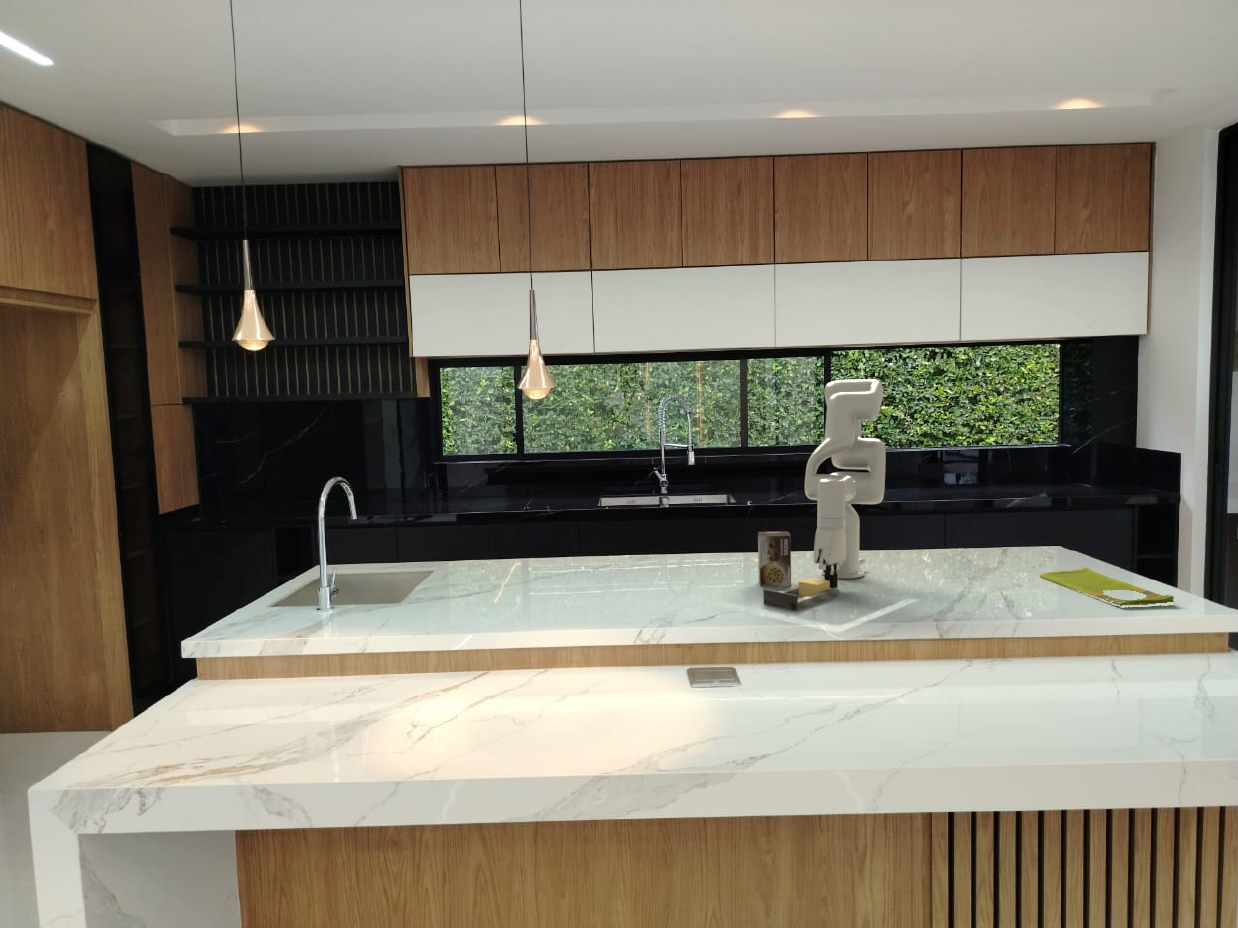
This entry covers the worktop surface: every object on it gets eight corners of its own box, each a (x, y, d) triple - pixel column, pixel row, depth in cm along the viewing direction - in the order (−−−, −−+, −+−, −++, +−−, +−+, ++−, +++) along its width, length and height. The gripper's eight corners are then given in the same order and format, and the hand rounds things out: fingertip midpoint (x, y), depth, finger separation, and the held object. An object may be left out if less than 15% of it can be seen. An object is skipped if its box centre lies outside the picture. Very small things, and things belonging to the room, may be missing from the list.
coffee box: (789, 585, 253) (789, 531, 251) (791, 590, 246) (791, 535, 245) (757, 585, 254) (757, 531, 252) (759, 590, 247) (759, 535, 245)
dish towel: (1121, 611, 221) (1121, 599, 220) (1038, 578, 256) (1038, 568, 256) (1176, 608, 222) (1177, 596, 222) (1086, 576, 258) (1086, 565, 257)
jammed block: (810, 591, 240) (810, 577, 239) (829, 595, 235) (829, 580, 235) (798, 595, 236) (798, 581, 235) (817, 599, 231) (817, 584, 231)
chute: (800, 592, 243) (800, 574, 243) (844, 601, 233) (844, 582, 233) (757, 607, 230) (757, 588, 229) (802, 617, 220) (802, 597, 219)
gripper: (834, 518, 247) (833, 580, 249) (804, 524, 237) (804, 590, 239) (857, 520, 242) (857, 584, 244) (828, 528, 231) (827, 594, 233)
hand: (830, 587), depth 241 cm, fingers closed
